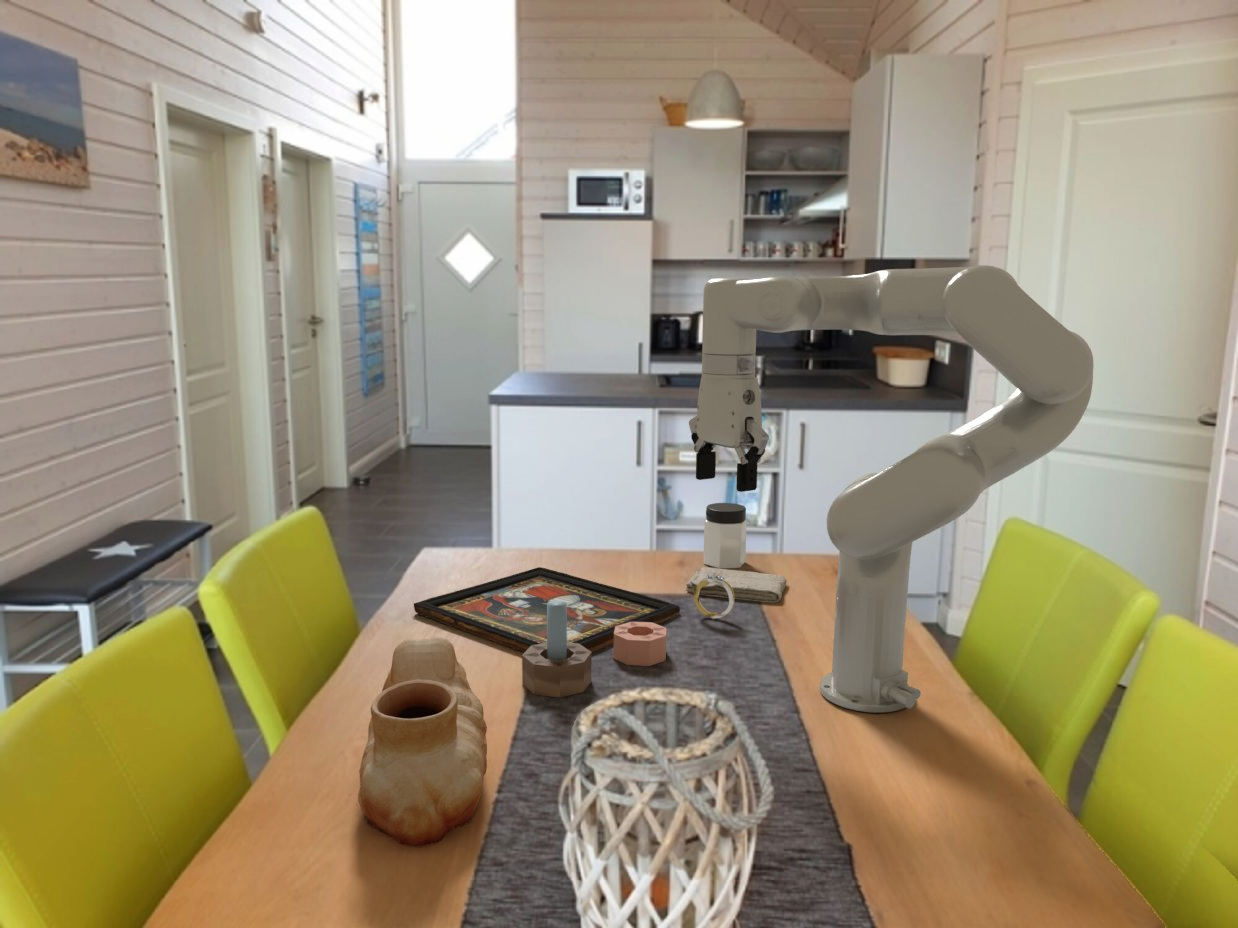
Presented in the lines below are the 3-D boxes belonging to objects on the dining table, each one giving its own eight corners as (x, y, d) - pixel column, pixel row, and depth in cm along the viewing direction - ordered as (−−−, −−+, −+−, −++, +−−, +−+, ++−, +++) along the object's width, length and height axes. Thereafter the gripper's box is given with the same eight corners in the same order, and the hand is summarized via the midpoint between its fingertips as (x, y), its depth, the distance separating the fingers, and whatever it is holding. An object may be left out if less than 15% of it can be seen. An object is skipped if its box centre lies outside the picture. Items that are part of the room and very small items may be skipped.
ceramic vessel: (487, 731, 123) (485, 620, 120) (488, 848, 97) (486, 710, 94) (376, 737, 121) (372, 624, 118) (349, 858, 95) (342, 718, 92)
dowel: (570, 684, 137) (570, 604, 135) (552, 688, 136) (552, 608, 133) (561, 677, 139) (561, 599, 137) (543, 681, 138) (543, 602, 136)
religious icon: (691, 610, 171) (692, 595, 170) (576, 675, 142) (576, 657, 141) (525, 574, 191) (525, 560, 191) (395, 624, 162) (395, 607, 162)
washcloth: (696, 577, 189) (697, 562, 189) (787, 586, 184) (788, 571, 184) (683, 596, 178) (684, 580, 178) (780, 606, 173) (781, 589, 173)
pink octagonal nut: (676, 656, 148) (677, 632, 147) (638, 669, 143) (638, 644, 142) (641, 641, 154) (642, 618, 153) (603, 653, 148) (603, 629, 148)
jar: (710, 555, 203) (712, 500, 201) (748, 559, 201) (750, 504, 199) (699, 566, 195) (701, 509, 193) (738, 571, 192) (740, 513, 190)
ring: (735, 619, 165) (737, 574, 163) (728, 624, 162) (730, 579, 160) (698, 612, 168) (699, 568, 166) (691, 617, 165) (692, 573, 164)
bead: (600, 687, 136) (600, 658, 135) (542, 701, 131) (542, 670, 130) (570, 665, 144) (570, 637, 143) (514, 678, 139) (514, 648, 138)
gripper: (789, 370, 130) (784, 492, 133) (713, 361, 145) (710, 472, 148) (745, 372, 126) (742, 498, 129) (672, 363, 141) (670, 476, 144)
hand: (725, 484), depth 138 cm, fingers open, 9 cm apart
